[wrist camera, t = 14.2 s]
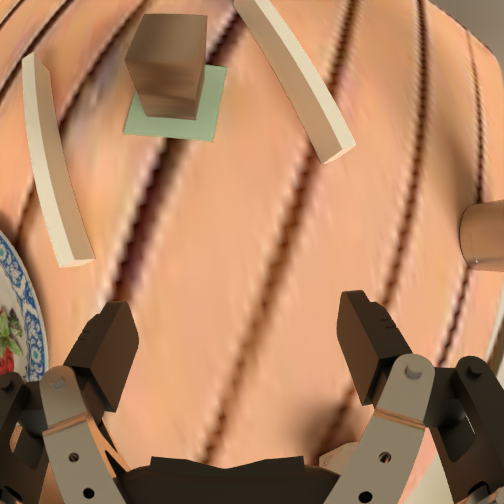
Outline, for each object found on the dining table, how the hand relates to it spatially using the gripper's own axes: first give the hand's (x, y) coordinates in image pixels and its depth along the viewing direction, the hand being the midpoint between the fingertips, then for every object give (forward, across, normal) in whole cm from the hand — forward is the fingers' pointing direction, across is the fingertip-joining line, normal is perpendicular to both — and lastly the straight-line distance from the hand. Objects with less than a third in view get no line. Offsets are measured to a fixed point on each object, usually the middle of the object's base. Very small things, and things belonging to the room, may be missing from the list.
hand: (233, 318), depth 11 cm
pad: (+22, +6, -10) cm, 25 cm away
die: (+7, -10, +29) cm, 32 cm away
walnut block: (+22, +6, -10) cm, 25 cm away
